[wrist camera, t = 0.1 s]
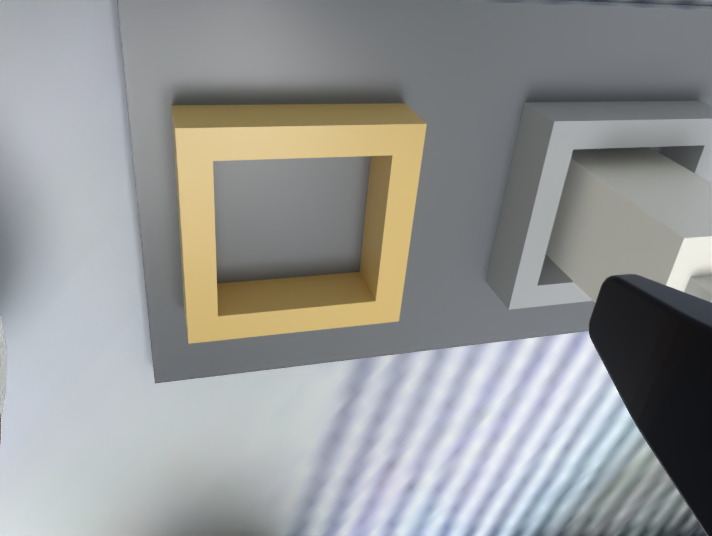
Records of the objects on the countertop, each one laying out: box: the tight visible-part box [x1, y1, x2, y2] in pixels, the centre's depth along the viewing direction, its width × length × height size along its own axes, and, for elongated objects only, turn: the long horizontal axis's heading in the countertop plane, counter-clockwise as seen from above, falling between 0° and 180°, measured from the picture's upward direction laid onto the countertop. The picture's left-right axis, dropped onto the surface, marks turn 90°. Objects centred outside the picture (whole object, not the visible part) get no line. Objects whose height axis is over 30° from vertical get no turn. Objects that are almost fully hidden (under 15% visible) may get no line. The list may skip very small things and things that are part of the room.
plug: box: [546, 147, 712, 303], centre depth 23 cm, size 4×4×8 cm
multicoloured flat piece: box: [117, 0, 712, 383], centre depth 24 cm, size 14×22×3 cm, turn 85°
